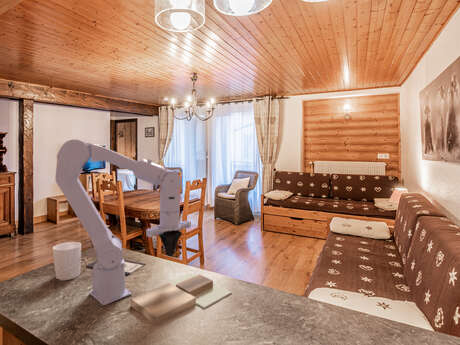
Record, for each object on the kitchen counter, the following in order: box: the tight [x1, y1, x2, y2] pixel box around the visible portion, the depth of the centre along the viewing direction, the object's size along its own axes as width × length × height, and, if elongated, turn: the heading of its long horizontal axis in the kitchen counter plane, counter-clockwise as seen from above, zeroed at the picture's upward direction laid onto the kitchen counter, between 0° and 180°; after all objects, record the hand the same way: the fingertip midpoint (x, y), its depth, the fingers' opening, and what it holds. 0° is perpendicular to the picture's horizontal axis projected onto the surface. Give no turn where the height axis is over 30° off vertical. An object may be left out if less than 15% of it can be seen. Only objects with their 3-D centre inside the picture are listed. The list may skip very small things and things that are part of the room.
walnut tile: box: [176, 274, 214, 296], centre depth 81 cm, size 6×9×2 cm, turn 138°
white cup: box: [52, 241, 82, 281], centre depth 89 cm, size 8×8×10 cm
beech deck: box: [130, 282, 197, 326], centre depth 73 cm, size 12×12×2 cm
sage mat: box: [163, 272, 232, 309], centre depth 81 cm, size 18×11×1 cm, turn 48°
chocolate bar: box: [85, 259, 146, 277], centre depth 97 cm, size 9×1×18 cm
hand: (169, 255), depth 83 cm, fingers closed
